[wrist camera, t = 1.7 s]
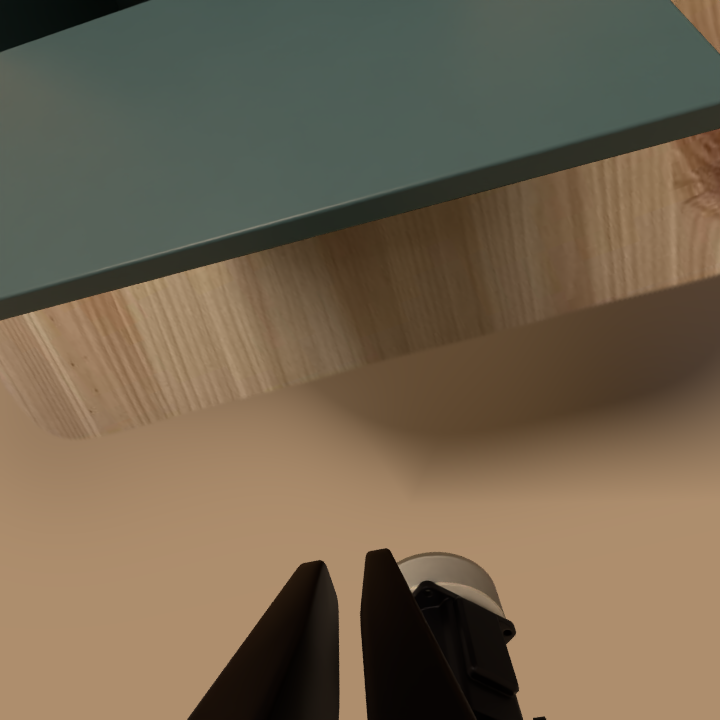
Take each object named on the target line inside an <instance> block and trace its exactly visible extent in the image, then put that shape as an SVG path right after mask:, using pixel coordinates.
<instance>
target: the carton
mask: <svg viewBox="0 0 720 720" xmlns="http://www.w3.org/2000/svg"><path fill="white" fill-rule="evenodd" d="M148 1H151V0H0V53H1V52H3V51H6V50H9V49H12V48H15V47H18V46H21V45H24V44H27V43H29V42H32V41H35V40H38V39H41V38H44V37H47V36H50V35H53V34H55V33H58V32H61V31H64V30H67V29H70V28H73V27H76V26H79V25H81V24H84V23H87V22H90V21H93V20H96V19H99V18H102V17H105V16H108V15H110V14H113V13H116V12H119V11H122V10H125V9H128V8H131V7H134V6H136V5H139V4H142V3H145V2H148Z"/></svg>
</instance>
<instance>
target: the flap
mask: <svg viewBox="0 0 720 720" xmlns="http://www.w3.org/2000/svg"><path fill="white" fill-rule="evenodd" d="M719 128H720V54H719V53H718V52H717V50H716V49H715V48H714V47H713V46H712V45H711V44H710V43H709V42H708V41H707V40H706V39H705V37H704V36H703V35H702V34H701V33H700V32H699V31H698V30H697V29H696V28H695V27H694V26H693V24H692V23H691V22H690V21H689V20H688V19H687V18H686V17H685V16H684V15H683V14H682V13H681V11H680V10H679V9H678V8H677V7H676V6H675V5H674V4H673V3H672V2H671V1H670V0H151V1H148V2H145V3H142V4H139V5H136V6H134V7H131V8H128V9H125V10H122V11H119V12H116V13H113V14H110V15H108V16H105V17H102V18H99V19H96V20H93V21H90V22H87V23H84V24H81V25H79V26H76V27H73V28H70V29H67V30H64V31H61V32H58V33H55V34H53V35H50V36H47V37H44V38H41V39H38V40H35V41H32V42H29V43H27V44H24V45H21V46H18V47H15V48H12V49H9V50H6V51H3V52H1V53H0V320H4V319H8V318H11V317H15V316H19V315H23V314H26V313H30V312H34V311H38V310H41V309H45V308H49V307H53V306H56V305H60V304H64V303H68V302H71V301H75V300H79V299H83V298H86V297H90V296H94V295H98V294H101V293H105V292H109V291H113V290H116V289H120V288H124V287H128V286H131V285H135V284H139V283H143V282H146V281H150V280H154V279H157V278H161V277H165V276H169V275H172V274H176V273H180V272H184V271H187V270H191V269H195V268H199V267H202V266H206V265H210V264H214V263H217V262H221V261H225V260H229V259H232V258H236V257H240V256H244V255H247V254H251V253H255V252H259V251H262V250H266V249H270V248H274V247H277V246H281V245H285V244H289V243H292V242H296V241H300V240H304V239H307V238H311V237H315V236H319V235H322V234H326V233H330V232H334V231H337V230H341V229H345V228H349V227H352V226H356V225H360V224H364V223H367V222H371V221H375V220H378V219H382V218H386V217H390V216H393V215H397V214H401V213H405V212H408V211H412V210H416V209H420V208H423V207H427V206H431V205H435V204H438V203H442V202H446V201H450V200H453V199H457V198H461V197H465V196H468V195H472V194H476V193H480V192H483V191H487V190H491V189H495V188H498V187H502V186H506V185H510V184H513V183H517V182H521V181H525V180H528V179H532V178H536V177H540V176H543V175H547V174H551V173H555V172H558V171H562V170H566V169H570V168H573V167H577V166H581V165H585V164H588V163H592V162H596V161H599V160H603V159H607V158H611V157H614V156H618V155H622V154H626V153H629V152H633V151H637V150H641V149H644V148H648V147H652V146H656V145H659V144H663V143H667V142H671V141H674V140H678V139H682V138H686V137H689V136H693V135H697V134H701V133H704V132H708V131H712V130H716V129H719Z"/></svg>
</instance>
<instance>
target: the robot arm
mask: <svg viewBox="0 0 720 720" xmlns="http://www.w3.org/2000/svg"><path fill="white" fill-rule="evenodd" d="M426 590H430V591H426ZM338 613H339V611H338V600H337V595H336V592H335V589H334V586H333V583H332V580H331V577H330V575H329V572H328V569H327V566H326V564H325V563H324V562H323V561H321V560H318V561H313V562H308V563H303V564H301V565H300V566H299V567H298V568H297V570H296V571H295V572H294V574H293V575H292V576H291V578H290V579H289V581H288V582H287V583H286V585H285V586H284V587H283V589H282V590H281V592H280V593H279V594H278V596H277V597H276V598H275V600H274V602H272V604H271V606H270V607H269V608H268V609H267V611H266V612H265V613H264V615H263V616H262V618H261V619H260V620H259V622H258V623H257V625H256V626H255V627H254V629H253V630H252V631H251V633H250V634H249V636H248V637H247V638H246V640H245V641H244V642H243V644H242V645H241V646H240V648H239V649H238V651H237V652H236V653H235V655H234V656H233V657H232V659H231V660H230V662H229V663H228V664H227V666H226V667H225V668H224V670H223V671H222V672H221V674H220V675H219V677H218V678H217V679H216V681H215V682H214V683H213V685H212V686H211V687H210V689H209V690H208V692H207V693H206V694H205V696H204V697H203V699H202V700H201V701H200V703H199V704H198V705H197V707H196V708H195V709H194V711H193V712H192V714H191V715H190V716H189V718H188V719H187V720H339V615H338ZM360 616H361V617H360V618H361V620H360V621H361V637H362V651H363V664H364V677H365V691H366V703H367V704H366V705H367V718H368V720H523V717H522V714H521V711H520V708H519V704H518V701H517V697H516V693H517V692H518V691H519V687H518V683H517V679H516V676H515V672H514V669H513V666H512V663H511V660H510V656H509V653H508V650H507V647H506V644H507V643H508V642H509V641H510V640H511V639H512V638H513V637H514V636H515V634H516V631H515V627H514V625H513V623H512V622H511V621H509V620H507V619H505V618H503V617H501V616H499V615H497V614H495V613H493V612H491V611H489V610H487V609H485V608H483V607H481V606H479V605H477V604H475V603H473V602H471V601H469V600H467V599H465V598H463V597H461V596H459V595H457V594H455V593H453V592H451V591H449V590H447V589H445V588H443V587H441V586H439V585H437V584H435V583H433V582H431V581H424V582H422V583H420V584H419V586H418V587H417V588H416V589H415V590H414V591H413V593H412V592H411V590H410V588H409V586H408V584H407V582H406V581H405V579H404V577H403V575H402V573H401V571H400V569H399V567H398V565H397V563H396V561H395V559H394V557H393V555H392V553H391V551H390V550H389V549H387V548H385V549H380V550H374V551H370V552H368V553H367V555H366V559H365V569H364V579H363V589H362V599H361V611H360ZM533 720H546V718H545V717H537V718H533Z"/></svg>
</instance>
